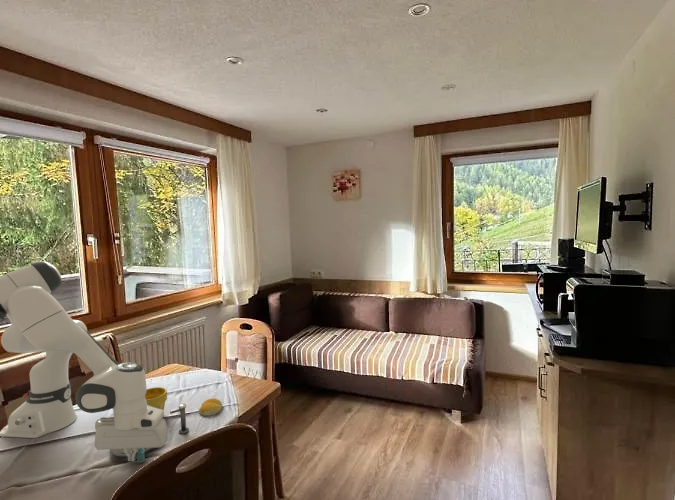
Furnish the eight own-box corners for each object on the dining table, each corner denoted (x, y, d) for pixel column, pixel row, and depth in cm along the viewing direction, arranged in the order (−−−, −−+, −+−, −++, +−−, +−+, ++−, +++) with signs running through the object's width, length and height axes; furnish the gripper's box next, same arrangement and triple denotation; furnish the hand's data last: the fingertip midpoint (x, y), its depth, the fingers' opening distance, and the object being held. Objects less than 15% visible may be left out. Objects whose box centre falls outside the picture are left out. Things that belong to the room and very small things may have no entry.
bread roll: (196, 417, 139) (196, 407, 139) (203, 406, 148) (203, 396, 148) (219, 416, 140) (218, 406, 139) (224, 404, 148) (224, 395, 148)
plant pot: (155, 426, 133) (154, 400, 132) (131, 424, 135) (129, 398, 134) (173, 412, 143) (172, 387, 142) (150, 409, 145) (149, 386, 144)
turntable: (110, 472, 108) (110, 463, 108) (109, 439, 125) (108, 431, 124) (169, 452, 117) (169, 444, 116) (160, 424, 133) (160, 416, 133)
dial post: (170, 436, 127) (169, 408, 126) (174, 429, 131) (173, 403, 130) (186, 435, 127) (185, 407, 127) (189, 428, 131) (188, 402, 130)
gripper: (88, 423, 107) (90, 468, 108) (161, 421, 109) (162, 465, 110) (101, 412, 113) (102, 454, 114) (169, 410, 115) (170, 452, 116)
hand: (132, 460), depth 112 cm, fingers closed
